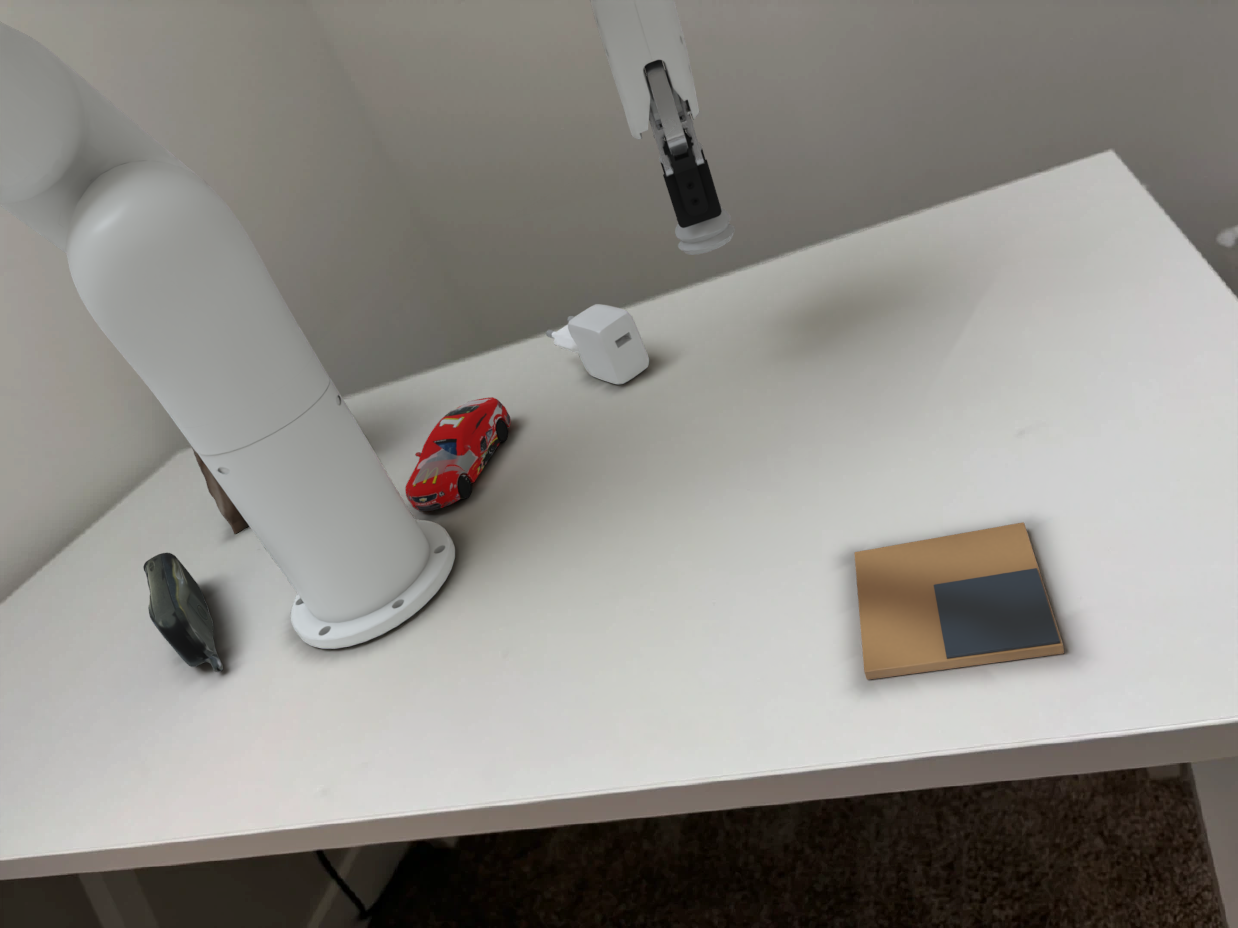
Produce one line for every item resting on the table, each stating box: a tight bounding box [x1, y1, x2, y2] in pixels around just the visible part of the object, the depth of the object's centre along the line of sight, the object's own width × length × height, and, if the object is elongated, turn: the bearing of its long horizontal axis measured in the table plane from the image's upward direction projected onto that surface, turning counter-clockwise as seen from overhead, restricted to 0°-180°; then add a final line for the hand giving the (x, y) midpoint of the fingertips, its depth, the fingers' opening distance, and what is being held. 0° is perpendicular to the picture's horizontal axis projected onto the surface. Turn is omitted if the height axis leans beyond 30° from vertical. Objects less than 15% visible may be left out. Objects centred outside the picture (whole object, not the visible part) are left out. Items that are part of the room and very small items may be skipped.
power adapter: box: [545, 303, 650, 385], centre depth 85 cm, size 11×5×6 cm, turn 36°
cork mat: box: [853, 521, 1065, 681], centre depth 48 cm, size 9×9×1 cm
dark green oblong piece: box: [142, 552, 224, 673], centre depth 72 cm, size 5×3×15 cm
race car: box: [404, 396, 512, 512], centre depth 79 cm, size 13×5×4 cm, turn 160°
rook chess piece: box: [658, 133, 736, 256], centre depth 70 cm, size 4×4×8 cm
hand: (697, 209), depth 70 cm, fingers closed on rook chess piece, 3 cm apart
